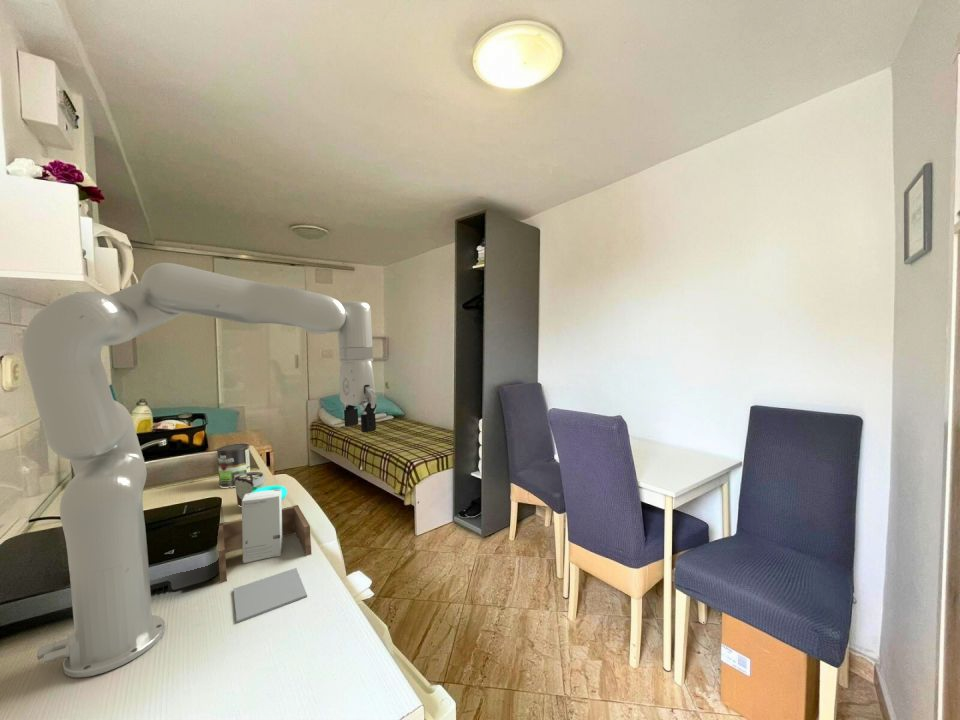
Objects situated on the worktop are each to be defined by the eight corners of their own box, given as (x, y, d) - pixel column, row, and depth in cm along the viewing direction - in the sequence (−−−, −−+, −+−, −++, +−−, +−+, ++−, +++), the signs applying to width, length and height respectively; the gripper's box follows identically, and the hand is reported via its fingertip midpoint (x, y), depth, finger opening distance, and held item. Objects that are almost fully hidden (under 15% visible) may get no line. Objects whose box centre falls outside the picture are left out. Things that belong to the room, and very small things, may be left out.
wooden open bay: (220, 583, 84) (218, 551, 83) (218, 552, 97) (217, 524, 96) (311, 553, 94) (309, 525, 94) (299, 529, 107) (297, 504, 107)
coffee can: (237, 489, 141) (234, 450, 141) (212, 488, 143) (209, 450, 142) (257, 479, 151) (255, 443, 151) (234, 478, 153) (232, 443, 152)
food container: (275, 505, 125) (273, 474, 124) (255, 512, 120) (253, 480, 119) (254, 498, 132) (252, 469, 131) (235, 505, 126) (233, 474, 126)
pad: (236, 623, 71) (236, 621, 71) (233, 590, 81) (233, 588, 81) (307, 596, 78) (307, 594, 78) (296, 569, 88) (296, 567, 88)
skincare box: (242, 564, 91) (238, 501, 90) (247, 552, 96) (243, 493, 96) (282, 555, 94) (279, 495, 93) (284, 544, 99) (281, 486, 99)
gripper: (326, 356, 94) (330, 426, 95) (355, 356, 81) (359, 437, 82) (356, 354, 99) (360, 421, 100) (388, 354, 86) (391, 431, 87)
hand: (359, 428), depth 91 cm, fingers open, 9 cm apart
